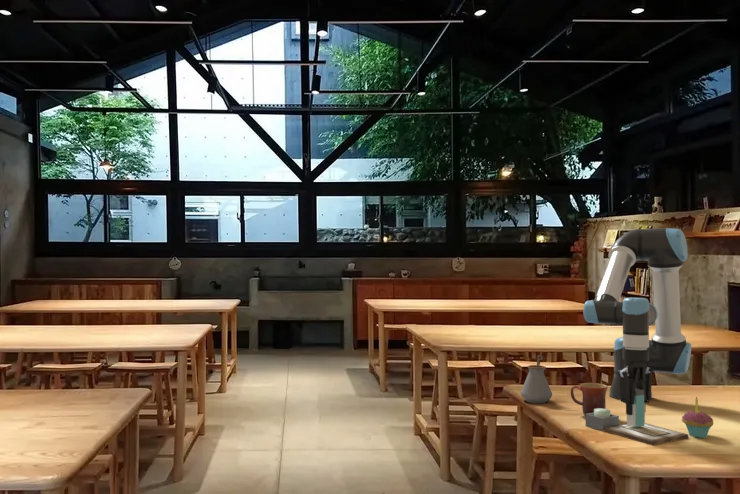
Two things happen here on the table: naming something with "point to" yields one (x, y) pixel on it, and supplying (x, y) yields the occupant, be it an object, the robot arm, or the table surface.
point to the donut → (697, 422)
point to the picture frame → (647, 433)
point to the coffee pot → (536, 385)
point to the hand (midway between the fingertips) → (635, 424)
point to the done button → (602, 412)
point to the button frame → (601, 421)
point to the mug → (591, 396)
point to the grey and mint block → (639, 407)
